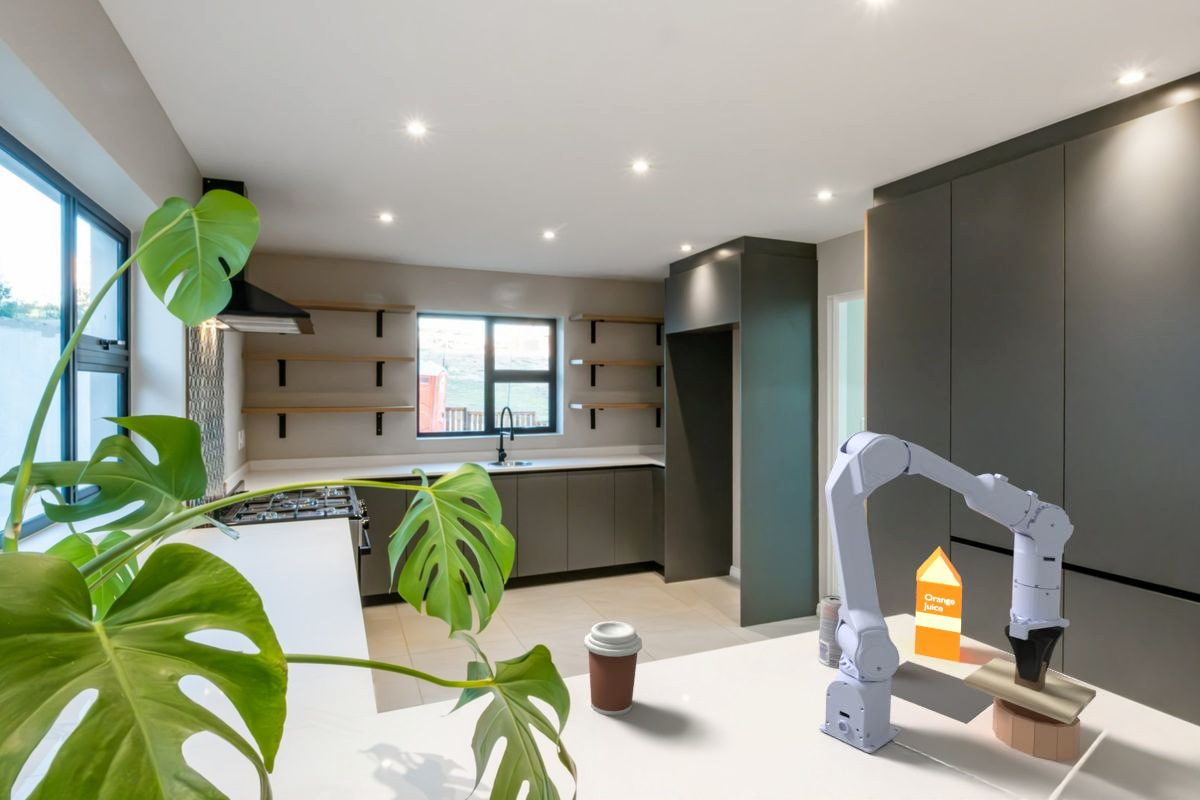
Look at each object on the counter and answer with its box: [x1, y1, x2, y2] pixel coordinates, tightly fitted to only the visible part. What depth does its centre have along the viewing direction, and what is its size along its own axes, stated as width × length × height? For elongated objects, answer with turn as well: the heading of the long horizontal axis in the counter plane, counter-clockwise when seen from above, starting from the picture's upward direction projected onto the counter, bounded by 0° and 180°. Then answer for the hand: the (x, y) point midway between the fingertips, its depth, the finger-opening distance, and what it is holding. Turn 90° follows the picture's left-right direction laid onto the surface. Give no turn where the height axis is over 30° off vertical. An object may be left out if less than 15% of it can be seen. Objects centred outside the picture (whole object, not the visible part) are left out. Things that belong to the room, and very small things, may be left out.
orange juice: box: [914, 545, 963, 663], centre depth 125 cm, size 8×9×20 cm
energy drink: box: [818, 594, 843, 670], centre depth 118 cm, size 5×5×12 cm
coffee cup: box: [584, 620, 643, 716], centre depth 100 cm, size 9×9×12 cm
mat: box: [891, 660, 995, 725], centre depth 108 cm, size 16×16×1 cm
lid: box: [963, 657, 1097, 724], centre depth 93 cm, size 13×13×4 cm
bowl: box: [991, 697, 1081, 762], centre depth 92 cm, size 10×10×5 cm
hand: (1032, 676), depth 93 cm, fingers closed on lid, 3 cm apart
